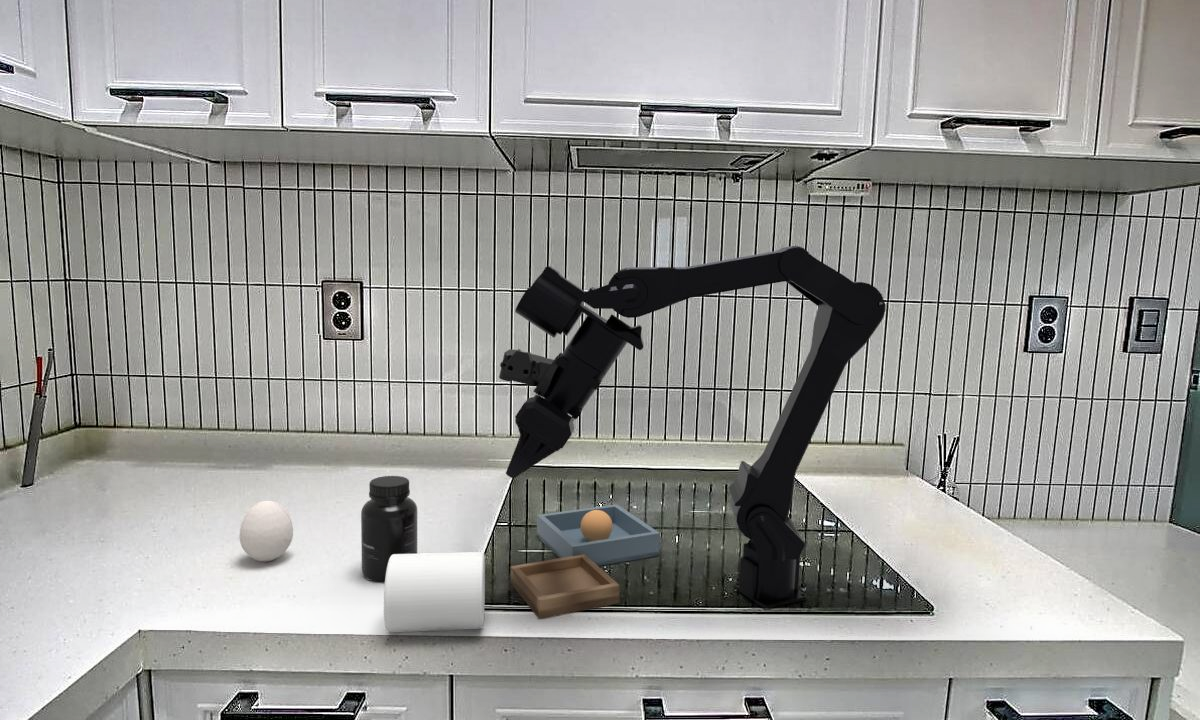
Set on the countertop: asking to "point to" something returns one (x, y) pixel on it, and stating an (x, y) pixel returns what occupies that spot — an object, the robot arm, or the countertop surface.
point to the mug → (434, 592)
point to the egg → (266, 531)
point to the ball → (596, 525)
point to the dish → (622, 544)
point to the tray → (564, 586)
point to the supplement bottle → (387, 525)
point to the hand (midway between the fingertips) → (516, 465)
